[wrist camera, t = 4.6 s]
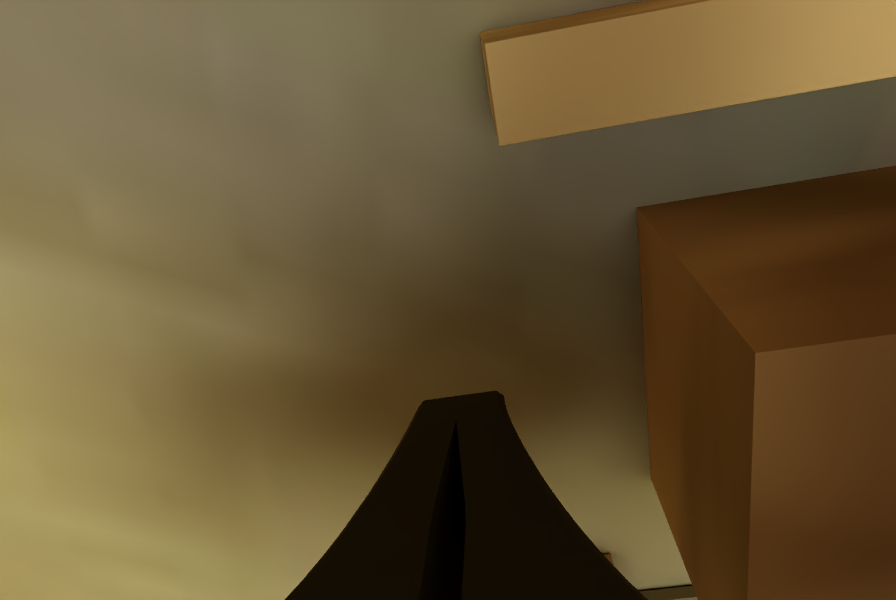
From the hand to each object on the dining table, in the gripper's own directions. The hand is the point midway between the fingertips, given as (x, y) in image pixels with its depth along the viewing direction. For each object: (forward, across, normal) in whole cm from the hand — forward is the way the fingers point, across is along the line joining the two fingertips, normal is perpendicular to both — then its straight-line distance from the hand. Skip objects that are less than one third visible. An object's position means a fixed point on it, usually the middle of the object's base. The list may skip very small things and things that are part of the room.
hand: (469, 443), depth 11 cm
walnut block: (+2, -6, 0) cm, 6 cm away
